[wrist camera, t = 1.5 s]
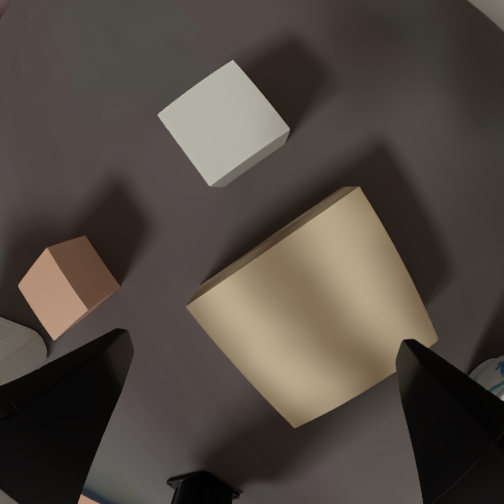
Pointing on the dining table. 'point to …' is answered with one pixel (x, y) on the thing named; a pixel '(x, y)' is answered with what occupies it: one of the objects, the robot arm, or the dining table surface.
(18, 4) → the dining table surface
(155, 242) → the dining table surface
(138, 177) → the dining table surface
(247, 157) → the grey cube
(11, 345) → the white rounded block
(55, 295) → the terracotta cube
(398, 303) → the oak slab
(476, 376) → the chinaware
